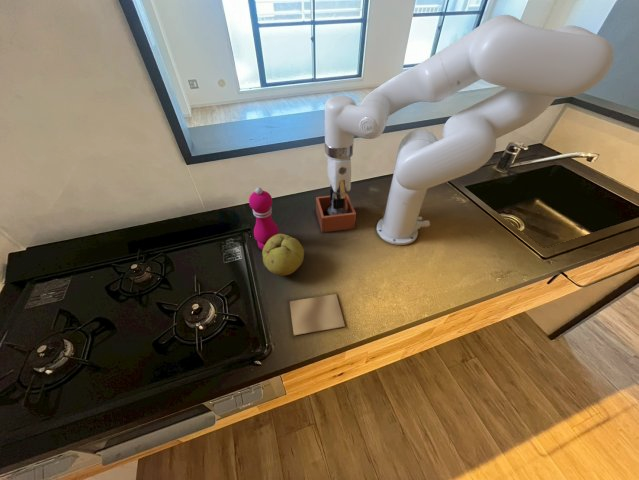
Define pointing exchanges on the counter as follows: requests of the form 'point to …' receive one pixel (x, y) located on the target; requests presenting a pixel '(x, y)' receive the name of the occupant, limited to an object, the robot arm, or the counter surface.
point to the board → (316, 314)
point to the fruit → (282, 254)
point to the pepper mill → (262, 216)
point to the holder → (335, 220)
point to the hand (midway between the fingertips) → (336, 203)
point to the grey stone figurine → (335, 211)
